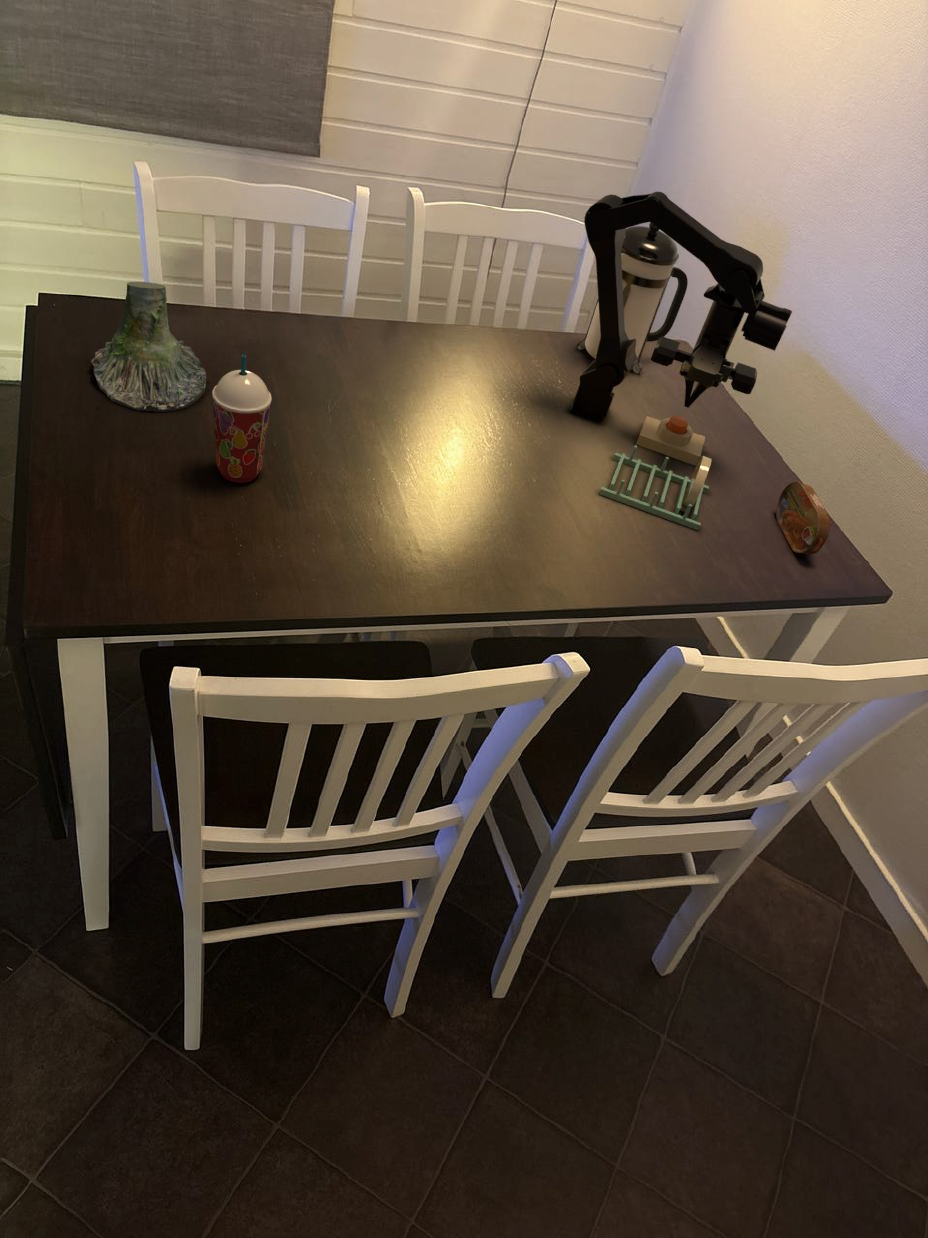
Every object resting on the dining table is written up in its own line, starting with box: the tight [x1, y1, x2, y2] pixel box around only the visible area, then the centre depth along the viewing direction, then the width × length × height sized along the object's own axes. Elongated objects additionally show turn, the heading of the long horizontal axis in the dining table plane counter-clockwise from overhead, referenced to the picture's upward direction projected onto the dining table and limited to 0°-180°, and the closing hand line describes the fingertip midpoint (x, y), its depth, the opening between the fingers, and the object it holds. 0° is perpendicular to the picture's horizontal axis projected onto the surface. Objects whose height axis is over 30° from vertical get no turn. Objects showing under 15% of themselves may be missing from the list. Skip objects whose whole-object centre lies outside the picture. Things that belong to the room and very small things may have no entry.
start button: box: [667, 416, 689, 434], centre depth 169 cm, size 4×4×2 cm
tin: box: [775, 481, 831, 555], centre depth 155 cm, size 15×3×8 cm, turn 5°
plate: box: [679, 455, 713, 515], centre depth 155 cm, size 2×9×10 cm, turn 162°
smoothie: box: [211, 354, 273, 484], centre depth 132 cm, size 8×8×20 cm
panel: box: [635, 415, 706, 467], centre depth 171 cm, size 12×8×4 cm, turn 73°
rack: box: [599, 445, 710, 531], centre depth 158 cm, size 18×13×4 cm
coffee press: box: [576, 222, 689, 375], centre depth 183 cm, size 17×16×30 cm
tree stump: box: [90, 281, 207, 413], centre depth 149 cm, size 18×20×18 cm
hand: (686, 406), depth 166 cm, fingers closed
